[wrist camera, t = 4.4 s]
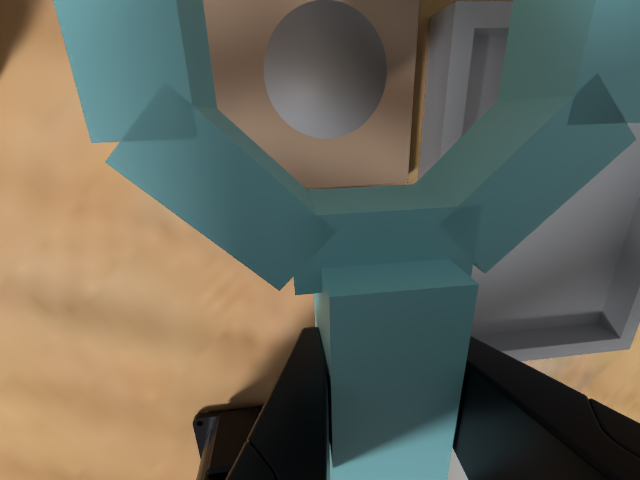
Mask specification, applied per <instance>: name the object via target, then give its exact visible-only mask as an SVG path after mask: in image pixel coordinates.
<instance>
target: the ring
mask: <svg viewBox="0 0 640 480" xmlns="http://www.w3.org/2000/svg"><path fill="white" fill-rule="evenodd" d="M53 2H54V6H55V9H56V13H57V17H58V20H59V24H60V28H61V32H62V35H63V39H64V43H65V46H66V50H67V54H68V58H69V61H70V65H71V69H72V72H73V76H74V80H75V84H76V87H77V91H78V95H79V99H80V102H81V106H82V110H83V113H84V117H85V121H86V125H87V128H88V132H89V136H90V139H91V143H101V142H120V143H119V144H118V145H117V147H116V148H115V149H114V151H113V152H112V153H111V155H110V156H109V157H108V159H107V160H106V161H105V163H107V164H108V165H110V166H111V167H112V168H114V169H115V170H116V171H118V172H119V173H120V174H122V175H123V176H124V177H126V178H127V179H128V180H130V181H131V182H133V183H134V184H135V185H137V186H138V187H139V188H141V189H142V190H143V191H145V192H146V193H147V194H149V195H150V196H152V197H153V198H154V199H156V200H157V201H158V202H160V203H161V204H162V205H164V206H165V207H166V208H168V209H169V210H171V211H172V212H173V213H175V214H176V215H177V216H179V217H180V218H181V219H183V220H184V221H185V222H187V223H188V224H190V225H191V226H192V227H194V228H195V229H196V230H198V231H199V232H200V233H202V234H203V235H204V236H206V237H207V238H209V239H210V240H211V241H213V242H214V243H215V244H217V245H218V246H219V247H221V248H222V249H223V250H225V251H226V252H228V253H229V254H230V255H232V256H233V257H234V258H236V259H237V260H238V261H240V262H241V263H242V264H244V265H245V266H247V267H248V268H249V269H251V270H252V271H253V272H255V273H256V274H257V275H259V276H260V277H261V278H263V279H264V280H266V281H267V282H268V283H270V284H271V285H272V286H274V287H275V288H276V289H278V290H279V291H280V290H281V289H282V288H283V287H284V286H285V285H286V284H287V282H288V281H289V280H290V279H291V278H292V277H293V276H294V286H295V295H301V294H313V293H314V306H315V327H319V331H320V335H321V339H322V343H323V348H324V352H325V356H326V361H327V366H328V398H329V436H330V480H447V475H448V470H449V463H450V457H451V452H452V446H453V440H454V434H455V427H456V421H457V415H458V409H459V403H460V397H461V391H462V385H463V379H464V373H465V367H466V361H467V354H468V348H469V342H470V336H471V330H472V324H473V318H474V312H475V306H476V300H477V294H478V288H479V284H478V283H477V282H476V281H475V280H473V279H472V278H471V274H472V268H473V265H474V266H476V267H477V268H478V269H479V270H481V271H482V272H483V273H485V274H486V273H487V272H488V271H489V270H490V269H491V268H492V267H493V266H495V265H496V264H497V263H498V262H499V261H500V260H501V259H502V258H504V257H505V256H506V255H507V254H508V253H509V252H510V251H511V250H513V249H514V248H515V247H516V246H517V245H518V244H519V243H520V242H522V241H523V240H524V239H525V238H526V237H527V236H528V235H529V234H531V233H532V232H533V231H534V230H535V229H536V228H537V227H538V226H540V225H541V224H542V223H543V222H544V221H545V220H546V219H547V218H549V217H550V216H551V215H552V214H553V213H554V212H555V211H557V210H558V209H559V208H560V207H561V206H562V205H563V204H564V203H566V202H567V201H568V200H569V199H570V198H571V197H572V196H573V195H575V194H576V193H577V192H578V191H579V190H580V189H581V188H582V187H584V186H585V185H586V184H587V183H588V182H589V181H590V180H591V179H593V178H594V177H595V176H596V175H597V174H598V173H599V172H600V171H602V170H603V169H604V168H605V167H606V166H607V165H608V164H609V163H611V162H612V161H613V160H614V159H615V158H616V157H617V156H618V155H620V154H621V153H622V152H623V151H624V150H625V149H626V148H627V147H629V146H630V145H631V144H632V143H633V142H634V141H635V140H636V138H635V136H634V134H633V133H632V131H631V129H630V128H629V126H628V124H627V123H640V0H513V4H512V11H511V17H510V24H509V30H508V37H507V43H506V50H505V56H504V63H503V69H502V76H501V83H500V89H499V96H498V101H497V102H496V103H495V104H494V105H493V106H492V107H491V108H490V109H489V110H488V111H487V112H486V113H485V114H484V115H483V116H482V117H481V118H480V119H479V120H478V121H477V122H476V123H475V124H474V125H473V126H472V127H471V128H470V129H469V130H468V131H467V132H466V133H465V134H464V135H463V136H462V137H461V138H460V139H459V140H458V141H457V142H456V143H455V144H454V145H453V146H452V147H451V148H450V149H449V150H448V151H447V152H446V153H445V154H444V155H443V156H442V157H441V158H440V159H439V160H438V161H437V162H436V163H435V164H434V165H433V166H432V167H431V168H430V169H429V170H428V171H427V172H426V173H425V174H424V175H423V176H422V177H421V178H420V179H419V180H418V181H417V182H416V183H415V184H414V185H395V186H377V187H358V188H339V189H320V190H307V189H306V188H305V187H304V186H303V185H302V184H300V183H299V182H298V181H297V180H296V179H295V178H294V177H293V176H292V175H290V174H289V173H288V172H287V171H286V170H285V169H284V168H283V167H282V166H280V165H279V164H278V163H277V162H276V161H275V160H274V159H273V158H272V157H270V156H269V155H268V154H267V153H266V152H265V151H264V150H263V149H262V148H260V147H259V146H258V145H257V144H256V143H255V142H254V141H253V140H252V139H250V138H249V137H248V136H247V135H246V134H245V133H244V132H243V131H242V130H240V129H239V128H238V127H237V126H236V125H235V124H234V123H233V122H232V121H230V120H229V119H228V118H227V117H226V116H225V115H224V114H223V113H222V112H220V111H219V110H218V109H217V103H216V95H215V88H214V80H213V73H212V65H211V57H210V50H209V42H208V35H207V27H206V19H205V12H204V4H203V0H53Z"/></svg>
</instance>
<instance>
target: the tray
mask: <svg viewBox="0 0 640 480" xmlns="http://www.w3.org/2000/svg"><path fill="white" fill-rule="evenodd" d="M512 4H513V1H454V2H453V3H451V4H450V5H448V6H447V7H445V8H444V9H442V10H441V11H439V12H438V13H436V14H435V15H433V16H432V17H430V29H429V42H428V55H427V68H426V81H425V94H424V107H423V120H422V134H421V147H420V160H419V173H418V180H419V179H420V178H421V177H422V176H423V175H424V174H425V173H426V172H427V171H428V170H429V169H430V168H431V167H432V166H433V165H434V164H435V163H436V162H437V161H438V160H439V159H440V158H441V157H442V156H443V155H444V154H445V153H446V152H447V151H448V150H449V149H450V148H451V147H452V146H453V145H454V144H455V143H456V142H457V141H458V140H459V139H460V138H461V137H462V136H463V135H464V134H465V133H466V132H467V131H468V130H469V129H470V128H471V127H472V126H473V125H474V124H475V123H476V122H477V121H478V120H479V119H480V118H481V117H482V116H483V115H484V114H485V113H486V112H487V111H488V110H489V109H490V108H491V107H492V106H493V105H494V104H495V103H496V102H497V101H498V96H499V89H500V83H501V76H502V69H503V63H504V56H505V50H506V43H507V37H508V30H509V24H510V17H511V11H512ZM627 124H628V126H629V128H630V129H631V131H632V133H633V134H634V136H635V138H636V140H635V141H634V142H633V143H632V144H631V145H630V146H629V147H627V148H626V149H625V150H624V151H623V152H622V153H621V154H620V155H618V156H617V157H616V158H615V159H614V160H613V161H612V162H611V163H609V164H608V165H607V166H606V167H605V168H604V169H603V170H602V171H600V172H599V173H598V174H597V175H596V176H595V177H594V178H593V179H591V180H590V181H589V182H588V183H587V184H586V185H585V186H584V187H582V188H581V189H580V190H579V191H578V192H577V193H576V194H575V195H573V196H572V197H571V198H570V199H569V200H568V201H567V202H566V203H564V204H563V205H562V206H561V207H560V208H559V209H558V210H557V211H555V212H554V213H553V214H552V215H551V216H550V217H549V218H547V219H546V220H545V221H544V222H543V223H542V224H541V225H540V226H538V227H537V228H536V229H535V230H534V231H533V232H532V233H531V234H529V235H528V236H527V237H526V238H525V239H524V240H523V241H522V242H520V243H519V244H518V245H517V246H516V247H515V248H514V249H513V250H511V251H510V252H509V253H508V254H507V255H506V256H505V257H504V258H502V259H501V260H500V261H499V262H498V263H497V264H496V265H495V266H493V267H492V268H491V269H490V270H489V271H488V272H487V273H486V274H485V273H483V272H482V271H481V270H479V269H478V268H477V267H476V266H474V265H473V268H472V274H471V278H472V279H473V280H475V281H476V282H477V283H478V284H479V288H478V294H477V300H476V306H475V312H474V318H473V324H472V330H471V336H472V337H474V338H476V339H478V340H480V341H482V342H484V343H486V344H488V345H490V346H492V347H494V348H495V349H497V350H499V351H501V352H503V353H505V354H507V355H509V356H511V357H513V358H515V359H517V360H518V361H528V360H537V359H546V358H555V357H563V356H572V355H581V354H590V353H599V352H608V351H617V350H626V349H630V347H631V344H632V341H633V339H634V336H635V333H636V331H637V328H638V325H639V323H640V123H627Z"/></svg>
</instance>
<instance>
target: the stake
mask: <svg viewBox="0 0 640 480" xmlns="http://www.w3.org/2000/svg"><path fill="white" fill-rule="evenodd" d="M419 3H420V0H203V4H204V12H205V19H206V27H207V35H208V42H209V50H210V57H211V65H212V73H213V80H214V88H215V95H216V103H217V109H218V110H219V111H220V112H222V113H223V114H224V115H225V116H226V117H227V118H228V119H229V120H230V121H232V122H233V123H234V124H235V125H236V126H237V127H238V128H239V129H240V130H242V131H243V132H244V133H245V134H246V135H247V136H248V137H249V138H250V139H252V140H253V141H254V142H255V143H256V144H257V145H258V146H259V147H260V148H262V149H263V150H264V151H265V152H266V153H267V154H268V155H269V156H270V157H272V158H273V159H274V160H275V161H276V162H277V163H278V164H279V165H280V166H282V167H283V168H284V169H285V170H286V171H287V172H288V173H289V174H290V175H292V176H293V177H294V178H295V179H296V180H297V181H298V182H299V183H300V184H302V185H303V186H304V187H305V188H324V187H343V186H361V185H380V184H399V183H408V170H409V155H410V140H411V124H412V109H413V94H414V79H415V64H416V48H417V33H418V18H419Z"/></svg>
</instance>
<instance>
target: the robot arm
mask: <svg viewBox="0 0 640 480" xmlns="http://www.w3.org/2000/svg"><path fill="white" fill-rule="evenodd" d="M193 427H194V432H195V436H196V440H197V445H198V449H199V453H200V458H201V462H200V466H199V471H198V475H197V479H196V480H330V436H329V398H328V366H327V361H326V356H325V352H324V348H323V343H322V339H321V335H320V331H319V327H309V328H303V329H302V331H301V333H300V335H299V337H298V339H297V341H296V343H295V345H294V346H293V348H292V350H291V352H290V354H289V356H288V358H287V360H286V362H285V364H284V366H283V368H282V370H281V372H280V374H279V376H278V378H277V380H276V382H275V384H274V386H273V388H272V390H271V392H270V394H269V396H268V398H267V400H266V402H265V404H264V406H259V407H251V408H242V409H234V410H225V411H217V412H208V413H200V414H197V415H196V416H195V417H194V420H193ZM452 447H453V449H454V451H455V453H456V455H457V457H458V459H459V461H460V463H461V466H462V467H463V469H464V472H465V474H466V476H467V478H468V480H640V423H638V422H636V421H634V420H632V419H630V418H628V417H626V416H624V415H622V414H620V413H618V412H616V411H614V410H613V409H611V408H609V407H607V406H605V405H603V404H601V403H599V402H597V401H595V400H593V399H588V398H587V396H586V395H584V394H582V393H580V392H578V391H576V390H574V389H572V388H570V387H568V386H566V385H564V384H563V383H561V382H559V381H557V380H555V379H553V378H551V377H549V376H547V375H545V374H543V373H541V372H540V371H538V370H536V369H534V368H532V367H530V366H528V365H526V364H524V363H522V362H520V361H518V360H517V359H515V358H513V357H511V356H509V355H507V354H505V353H503V352H501V351H499V350H497V349H495V348H494V347H492V346H490V345H488V344H486V343H484V342H482V341H480V340H478V339H476V338H474V337H472V336H470V342H469V348H468V354H467V361H466V367H465V373H464V379H463V385H462V391H461V397H460V403H459V409H458V415H457V421H456V427H455V434H454V440H453V446H452Z"/></svg>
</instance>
